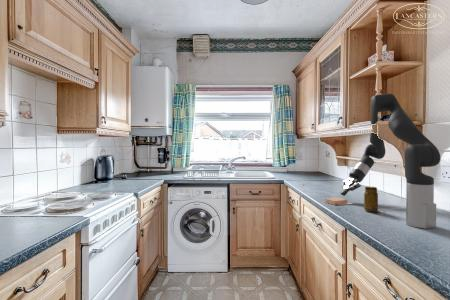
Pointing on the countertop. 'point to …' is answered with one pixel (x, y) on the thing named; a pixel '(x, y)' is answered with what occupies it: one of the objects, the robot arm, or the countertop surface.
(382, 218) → the countertop surface
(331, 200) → the tile
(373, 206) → the condiment
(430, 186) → the robot arm
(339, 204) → the board
